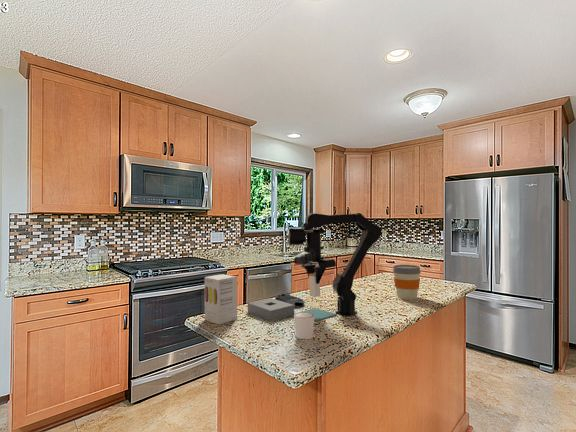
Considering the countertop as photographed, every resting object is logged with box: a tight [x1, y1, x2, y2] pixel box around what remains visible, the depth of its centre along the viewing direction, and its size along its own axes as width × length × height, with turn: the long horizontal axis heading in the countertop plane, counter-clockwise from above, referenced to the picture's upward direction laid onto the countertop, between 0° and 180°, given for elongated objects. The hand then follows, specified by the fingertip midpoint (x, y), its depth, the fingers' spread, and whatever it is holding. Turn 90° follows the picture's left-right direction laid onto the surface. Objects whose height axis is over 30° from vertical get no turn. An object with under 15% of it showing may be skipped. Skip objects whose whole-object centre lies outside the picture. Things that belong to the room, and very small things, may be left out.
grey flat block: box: [247, 297, 295, 322], centre depth 131 cm, size 16×12×4 cm
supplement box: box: [204, 273, 238, 325], centre depth 124 cm, size 10×9×17 cm
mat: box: [294, 307, 337, 323], centre depth 128 cm, size 12×12×1 cm
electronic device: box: [274, 293, 305, 308], centre depth 146 cm, size 9×6×15 cm
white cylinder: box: [293, 311, 315, 340], centre depth 105 cm, size 7×7×7 cm
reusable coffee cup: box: [392, 264, 421, 301], centre depth 155 cm, size 13×13×15 cm
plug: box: [308, 273, 321, 298], centre depth 128 cm, size 3×3×9 cm
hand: (314, 283), depth 128 cm, fingers closed on plug, 3 cm apart
